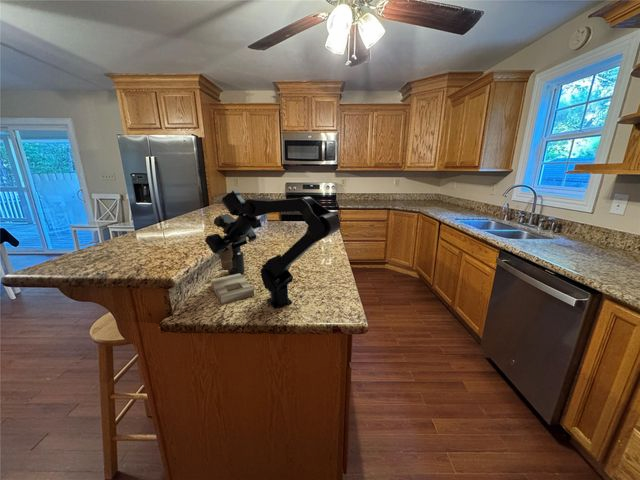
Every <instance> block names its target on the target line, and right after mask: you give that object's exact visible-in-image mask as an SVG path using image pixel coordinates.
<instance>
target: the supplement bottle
mask: <svg viewBox="0 0 640 480" xmlns="http://www.w3.org/2000/svg"><path fill="white" fill-rule="evenodd" d="M232 252H233V257H232V269H230V270H227V273H228V276H230V275H235V274H239V273H240V274H241V275H243V274H244V273H245V269H246V268H245V259H244V256H245V255H244V252H243V251H241V246H240V247H237V248H235V249H232Z"/></svg>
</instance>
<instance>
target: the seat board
mask: <svg viewBox="0 0 640 480" xmlns="http://www.w3.org/2000/svg"><path fill="white" fill-rule="evenodd" d="M210 283H211V285H210V286H211V288H212V289H213V291H214V292H215V295H216V296H217V298H218V299H219V301H220V303H221V305H224V304H228V303H231V302H235V301H239V300H242V299H246V298H249V297H253V296H255V289H254V287H253V286H252V285H251V283H249V281H247V279H246V278H245V277H244V276H243V274H240V273H239V274H235V275H227V276H222V277H217V278H213V279H210Z"/></svg>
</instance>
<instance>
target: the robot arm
mask: <svg viewBox="0 0 640 480" xmlns="http://www.w3.org/2000/svg"><path fill="white" fill-rule="evenodd" d="M221 203H222V204H223V206H224V207H225V208H226V209H227V211H228V213H229V214H221V215H218V216H216V217H215V218H214V220H213V224H214V225H215V226H216V227H217V228H221V229H223V230H222V232H223V234H225V235H223V236H224V238H223V239H222V238H221V236H222V235H220V233H213V234H209V235H207V236H206V238H205V240H204V242H205V243H206V245H207V246H208V247H209V249H210V250H211V251H212V253H213V254H215V255H217V256H219V254H221V253H223V252H225V251H227V250H229V249H228V248H227V247H228V246H229V244H231V243H232V249H235V248H237V247H240V248H241V247H242V246H244V245H247V244H248V243H253V242H254V241H256V239H257V234H256V232H255V231H254V230H255V229H258V228H261V227H262V223H261V219H258V217H261V216H264V215H269V214H274V213H294V212H298V213H300V214H301V216H302V218H303V220H304V223H305V224H306V225H307V228H306V231H305V233H304V234H303V236H301V237H300V238H299V239H298V240H297V241H296V242H295V243H293V245H292V246H290V248H289V249H287V250H286V251H285V252H284V253H283V254H282V255H281V254H278V255H276V256H273V257H271V258H269V259H268V260H267V261H266V262H265V263H264V264H262V265H261V267H262V268H261V269H260V276H261V279H262V283H263V286H264V289H265V290H268V291H269V292H270V293H269V294H270V297H269V298H267V299H266V301H267V303H268V304H270V306H271V307H273V309H277V308H281V307H284V306H288V305H291V304H293V300H291V298H289V293H288V291H289V289H288V285H289V284H291V283H292V282H293V279H294V276H293V275H292V273H291V272H290V271H289V270H290V268H291V265H293V264H294V263H295V262H296V261H297V260H299V259H300V258H301V257H302V256H303V255H305V253H307V251H309V250H310V249H311V248H312V247H314V245H316V244H317V243H319V242H320V241H322V240H323V239H325V238H327V237H329V236H331V235H332V234H334V233H336V232H338V231H339V230H340V228H341V220H340V218H339V217H338V216H337V215H336V214H335V213H332V212H331V211H330V210H329V209H328V208H326V207H325V206H323V205H322V204H320V203H319V202H317V201H316V200H315V199H314V198H313V197H311V196H302V197H295V198H285V199H283V198H282V199H272V198H268V197H256V198H248V199H246V200H245V199H244V198H243V196H242V195H241V194H240V192H239V190H232V191H231V192H229V193H227V194H226V195H225V196H223V197H222V199H221ZM233 216H236V218H234V217H233ZM247 238H248V240H247Z"/></svg>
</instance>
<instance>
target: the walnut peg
mask: <svg viewBox="0 0 640 480" xmlns="http://www.w3.org/2000/svg"><path fill="white" fill-rule="evenodd" d="M220 236H221V238H222V239H223V238H224V236H225V235H220ZM227 248H228V249H229V250H227V251H225V252H223V253H221V254H218V259H220V265H221V270H222V271H228V270H230V269H232V257H233V252H232V243H231V244H229V246H228V247H227Z"/></svg>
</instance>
